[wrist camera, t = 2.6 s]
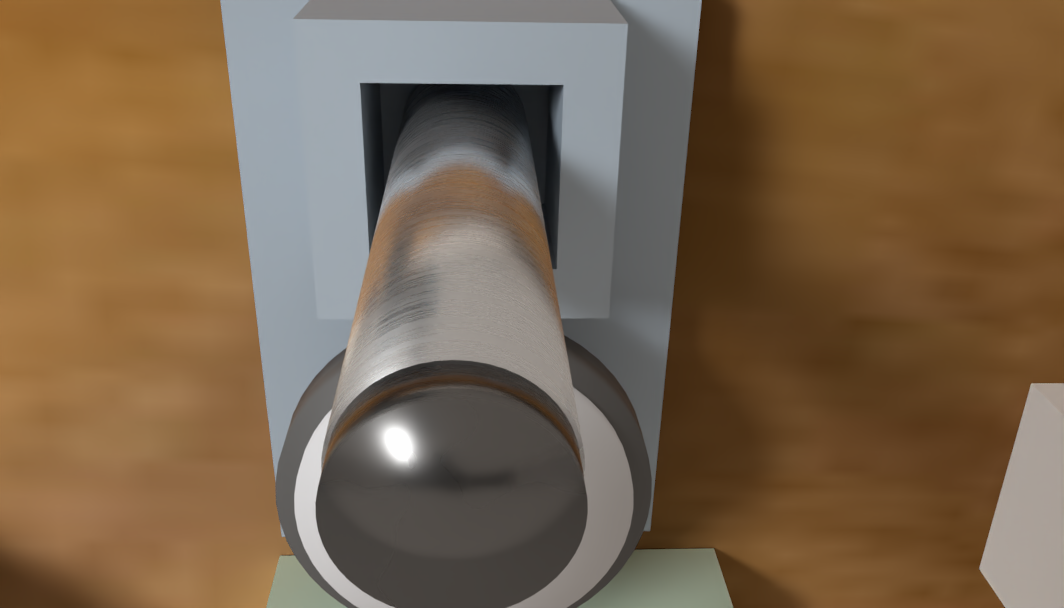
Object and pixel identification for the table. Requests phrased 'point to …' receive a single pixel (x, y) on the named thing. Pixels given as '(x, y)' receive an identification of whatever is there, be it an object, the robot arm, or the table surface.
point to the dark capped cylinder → (455, 375)
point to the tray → (623, 604)
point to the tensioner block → (566, 198)
